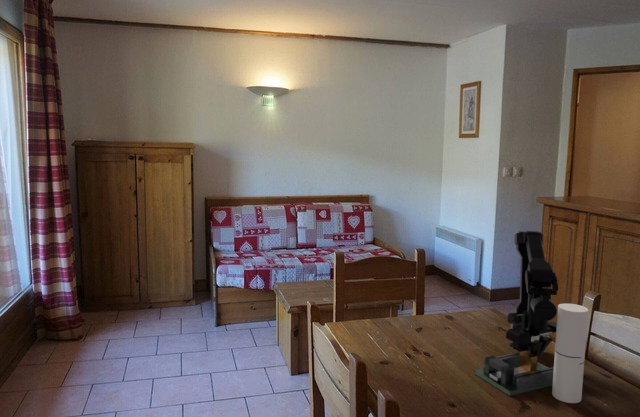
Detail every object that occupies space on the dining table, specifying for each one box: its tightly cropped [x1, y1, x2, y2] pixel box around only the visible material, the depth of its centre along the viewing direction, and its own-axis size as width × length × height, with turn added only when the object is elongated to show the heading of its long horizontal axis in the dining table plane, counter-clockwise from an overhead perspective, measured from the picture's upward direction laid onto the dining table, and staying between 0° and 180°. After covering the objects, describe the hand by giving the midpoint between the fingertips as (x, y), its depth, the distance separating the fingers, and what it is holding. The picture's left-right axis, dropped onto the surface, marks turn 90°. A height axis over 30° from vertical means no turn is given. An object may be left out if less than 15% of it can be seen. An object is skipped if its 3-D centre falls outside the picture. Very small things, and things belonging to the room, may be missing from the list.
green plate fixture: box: [474, 350, 554, 396], centre depth 143 cm, size 22×14×6 cm, turn 113°
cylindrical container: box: [551, 303, 589, 404], centre depth 131 cm, size 7×7×25 cm
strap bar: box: [489, 351, 538, 382], centre depth 142 cm, size 14×4×5 cm, turn 113°
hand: (535, 360), depth 145 cm, fingers closed
